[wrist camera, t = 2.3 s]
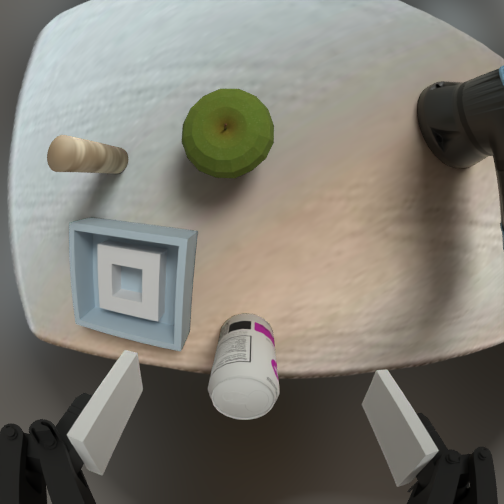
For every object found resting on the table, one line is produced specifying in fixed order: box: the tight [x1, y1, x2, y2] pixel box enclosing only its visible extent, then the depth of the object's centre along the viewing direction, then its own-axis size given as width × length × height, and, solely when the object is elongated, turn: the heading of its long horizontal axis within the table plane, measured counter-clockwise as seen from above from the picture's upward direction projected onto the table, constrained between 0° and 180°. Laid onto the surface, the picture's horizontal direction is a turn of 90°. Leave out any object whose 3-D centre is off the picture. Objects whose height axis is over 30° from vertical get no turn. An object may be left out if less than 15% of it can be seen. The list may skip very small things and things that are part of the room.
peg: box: [47, 135, 128, 174], centre depth 29 cm, size 4×4×14 cm
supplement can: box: [208, 313, 279, 420], centre depth 34 cm, size 8×8×15 cm
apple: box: [182, 89, 274, 178], centre depth 30 cm, size 11×10×10 cm
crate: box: [69, 217, 198, 351], centre depth 36 cm, size 16×18×6 cm
